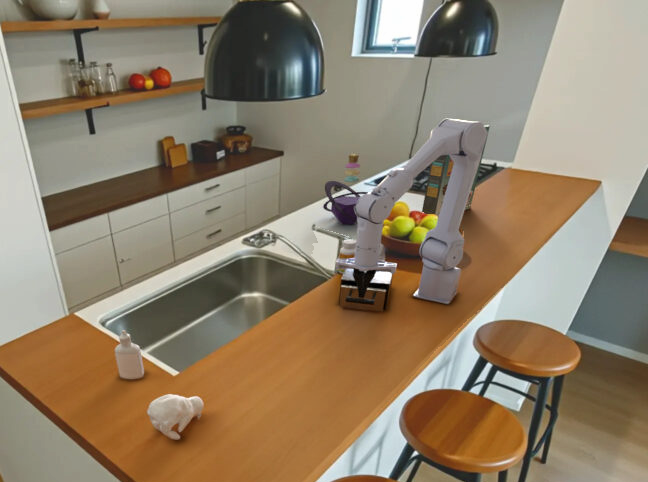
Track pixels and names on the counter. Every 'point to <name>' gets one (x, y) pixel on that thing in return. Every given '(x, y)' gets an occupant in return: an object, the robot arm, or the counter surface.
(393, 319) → the counter surface
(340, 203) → the decorative bottle
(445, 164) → the cake mix box
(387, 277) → the cabinet
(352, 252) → the supplement bottle
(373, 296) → the drawer
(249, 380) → the counter surface
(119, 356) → the eye dropper bottle
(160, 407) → the white animal figurine
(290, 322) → the counter surface
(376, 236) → the robot arm
